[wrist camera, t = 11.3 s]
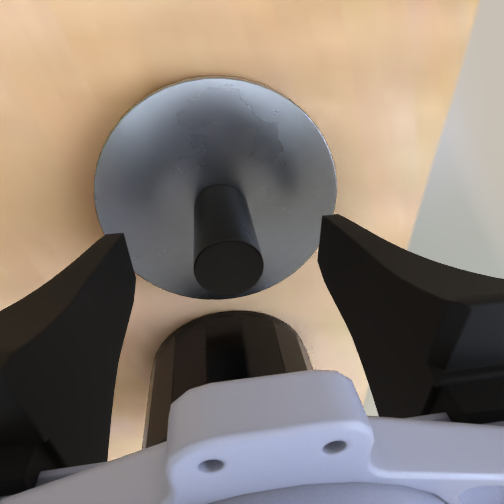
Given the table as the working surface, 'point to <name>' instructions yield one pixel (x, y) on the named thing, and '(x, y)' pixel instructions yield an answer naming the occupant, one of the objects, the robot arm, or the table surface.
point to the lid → (215, 187)
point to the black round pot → (218, 359)
